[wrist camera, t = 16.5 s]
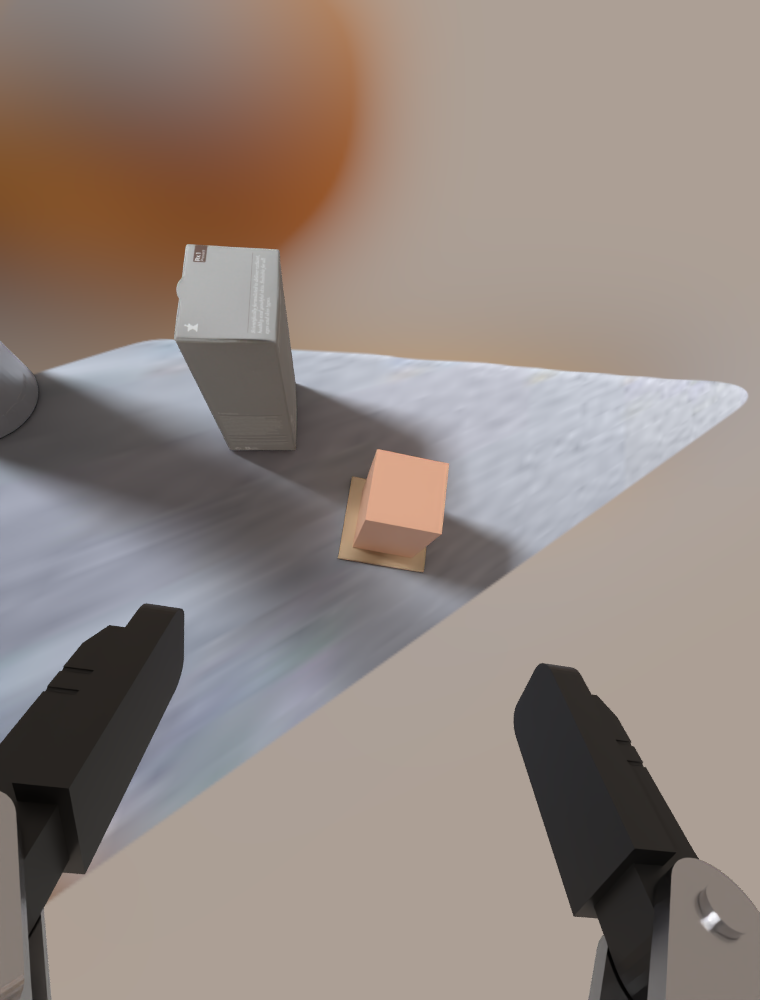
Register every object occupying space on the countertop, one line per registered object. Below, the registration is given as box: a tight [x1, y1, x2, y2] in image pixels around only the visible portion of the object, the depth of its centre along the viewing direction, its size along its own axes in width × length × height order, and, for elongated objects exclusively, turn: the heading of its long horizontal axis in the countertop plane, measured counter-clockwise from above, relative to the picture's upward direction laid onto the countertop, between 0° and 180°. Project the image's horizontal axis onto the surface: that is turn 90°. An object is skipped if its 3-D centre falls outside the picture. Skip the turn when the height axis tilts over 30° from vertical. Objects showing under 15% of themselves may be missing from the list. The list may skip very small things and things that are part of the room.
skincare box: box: [174, 244, 297, 450], centre depth 35 cm, size 8×7×16 cm
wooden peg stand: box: [338, 477, 426, 573], centre depth 37 cm, size 8×8×8 cm
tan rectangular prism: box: [353, 449, 449, 558], centre depth 36 cm, size 6×6×10 cm
